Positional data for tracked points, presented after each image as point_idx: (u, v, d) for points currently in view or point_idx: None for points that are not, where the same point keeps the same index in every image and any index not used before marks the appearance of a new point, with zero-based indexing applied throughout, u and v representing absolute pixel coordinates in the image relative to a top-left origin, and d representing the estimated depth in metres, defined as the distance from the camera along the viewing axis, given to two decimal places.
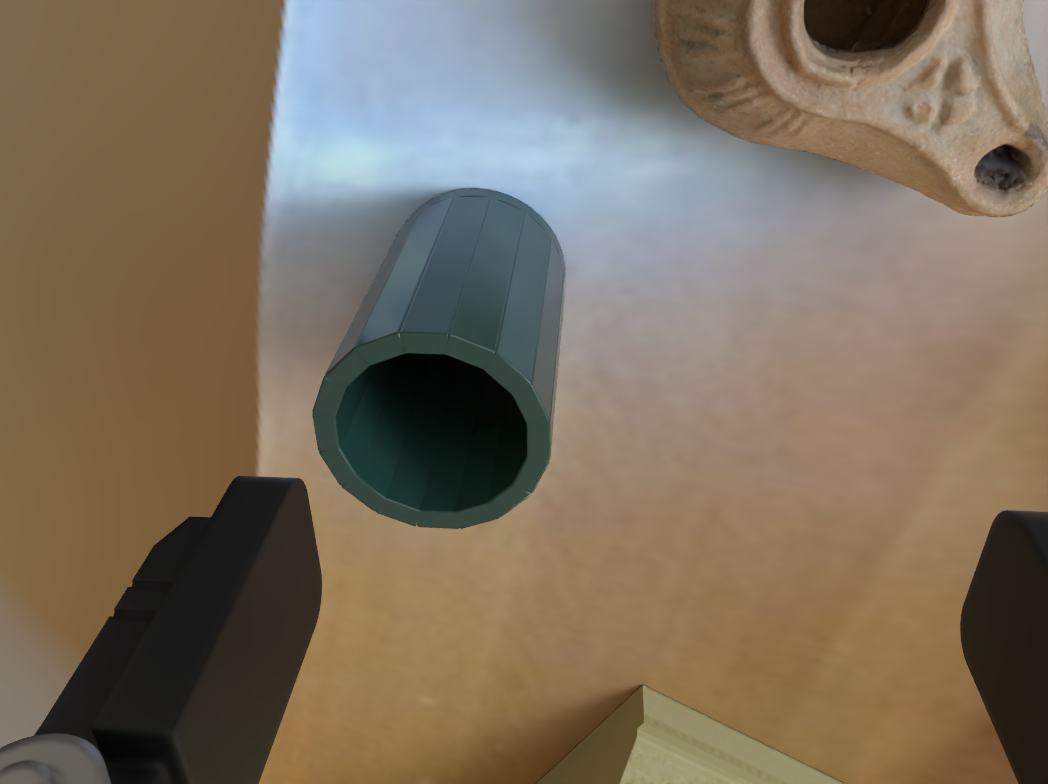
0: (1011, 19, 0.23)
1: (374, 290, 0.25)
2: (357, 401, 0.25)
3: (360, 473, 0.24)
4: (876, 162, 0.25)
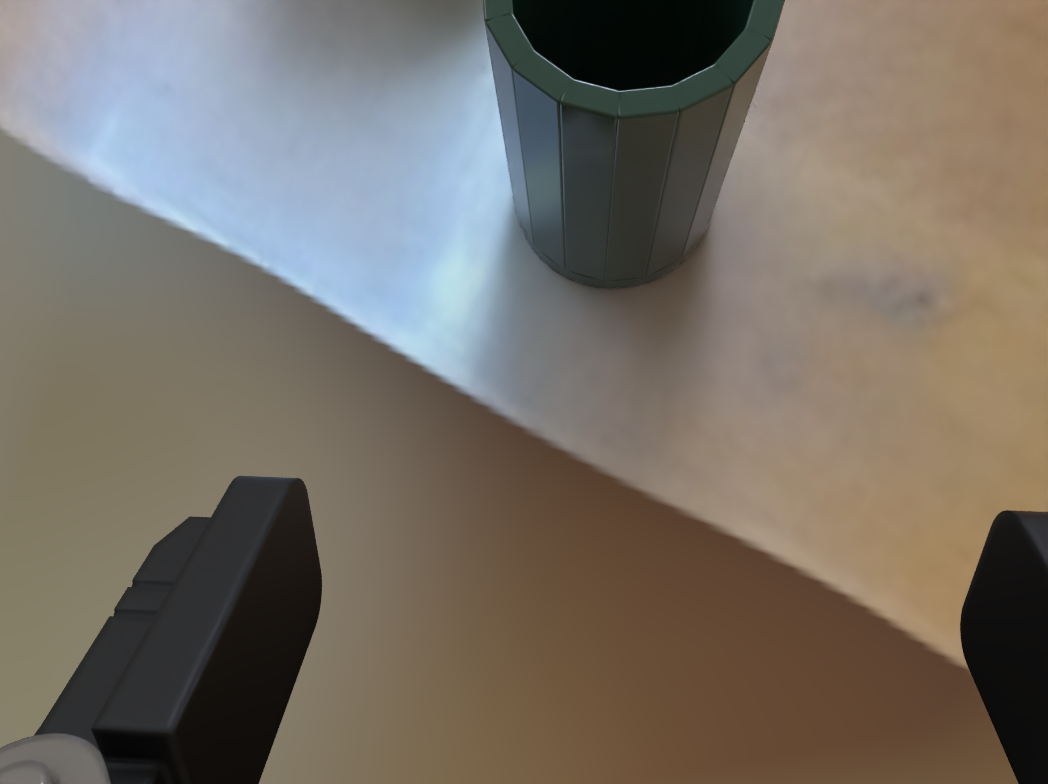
0: None
1: (511, 142, 0.21)
2: None
3: (671, 90, 0.17)
4: None
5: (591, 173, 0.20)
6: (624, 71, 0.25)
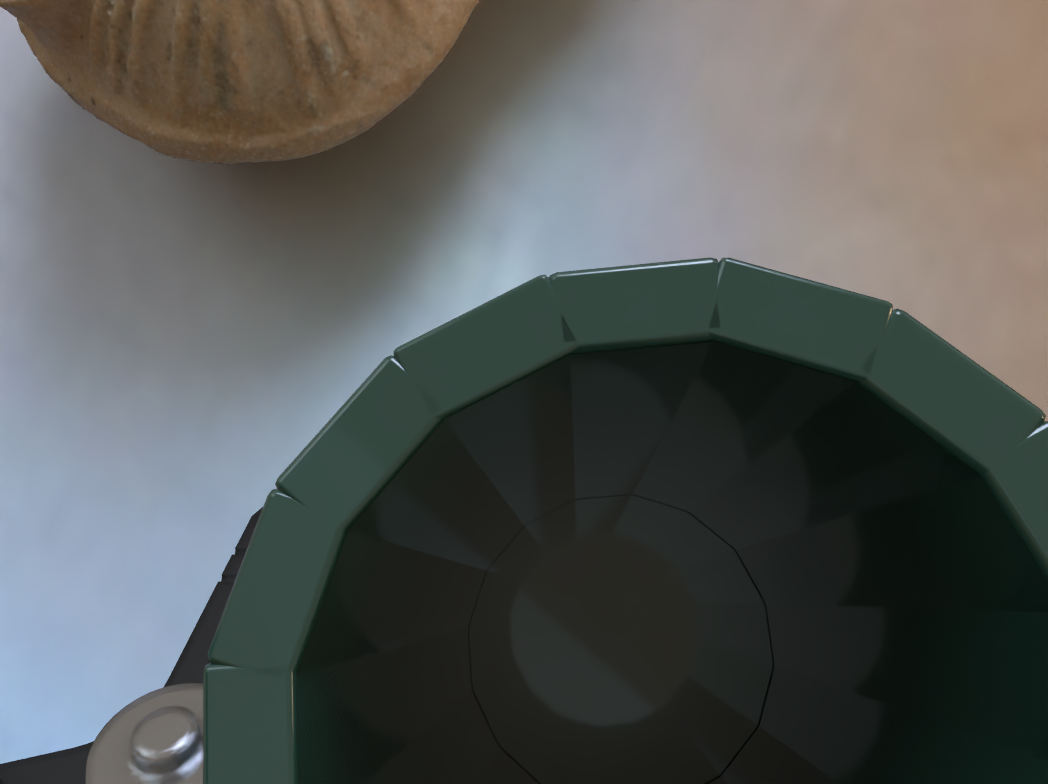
0: None
1: None
2: None
3: None
4: None
5: None
6: (640, 477, 0.13)
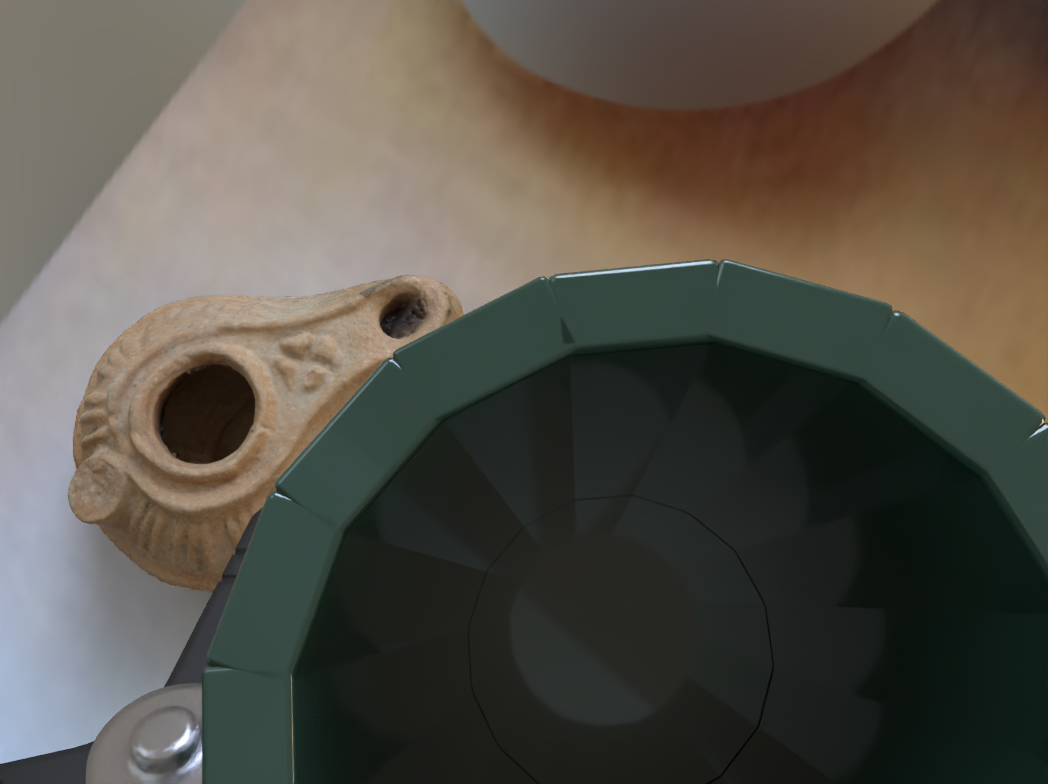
0: (289, 305, 0.28)
1: None
2: None
3: None
4: None
5: None
6: (640, 479, 0.13)
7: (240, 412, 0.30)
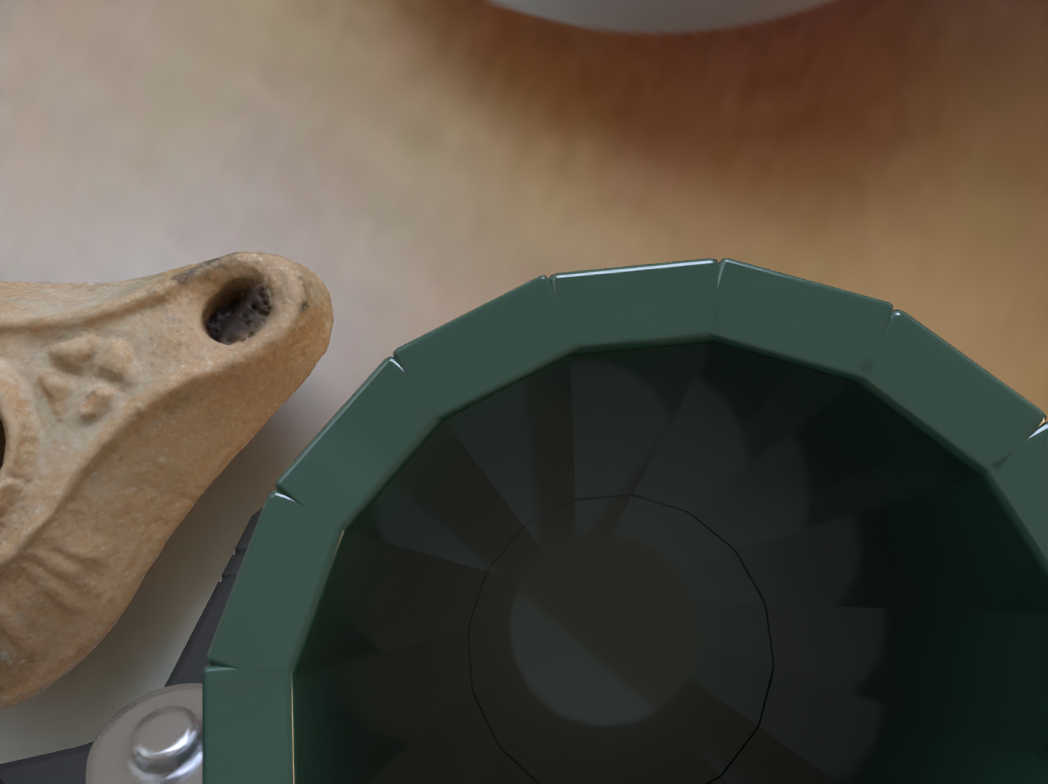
0: (81, 294, 0.19)
1: None
2: None
3: None
4: (188, 461, 0.18)
5: None
6: (640, 479, 0.13)
7: None
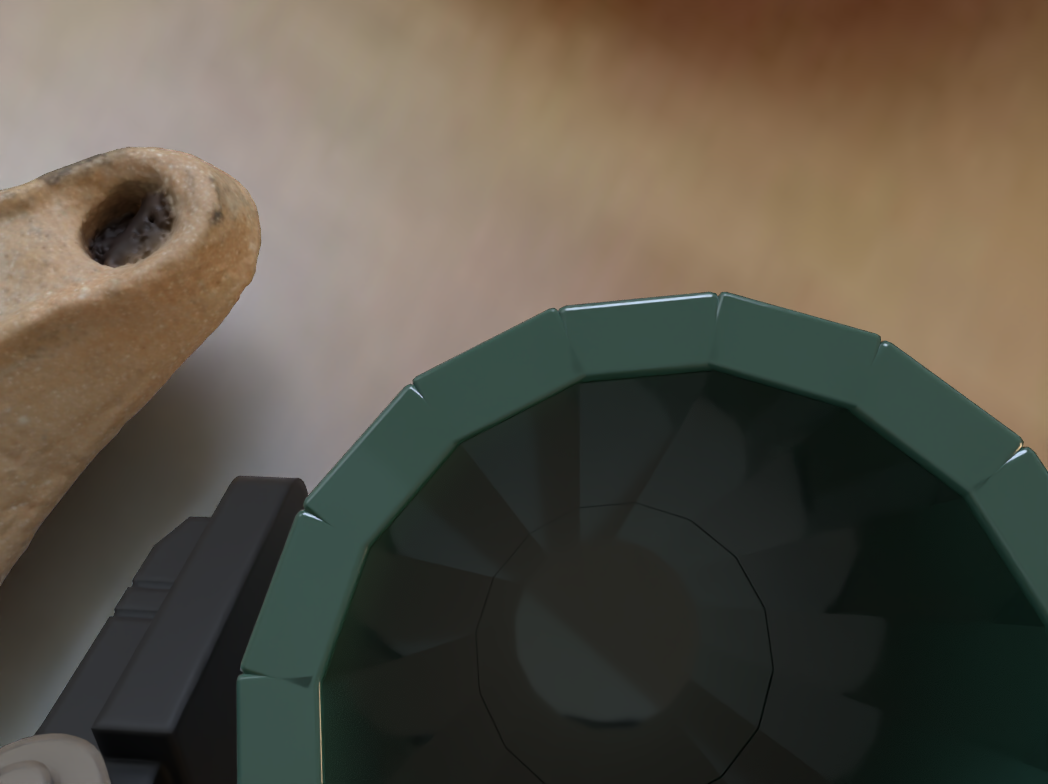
0: None
1: None
2: None
3: None
4: (60, 423, 0.14)
5: None
6: (643, 487, 0.13)
7: None
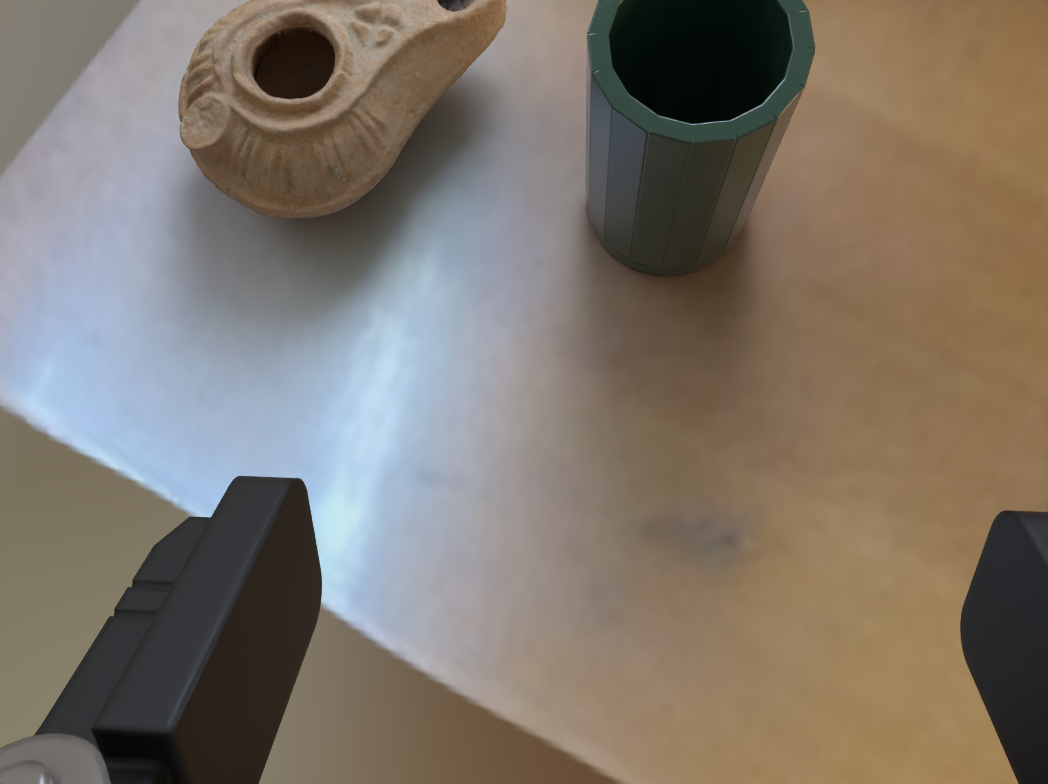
0: None
1: (598, 159, 0.28)
2: None
3: (730, 123, 0.24)
4: (429, 78, 0.32)
5: (664, 184, 0.26)
6: (678, 101, 0.32)
7: None
